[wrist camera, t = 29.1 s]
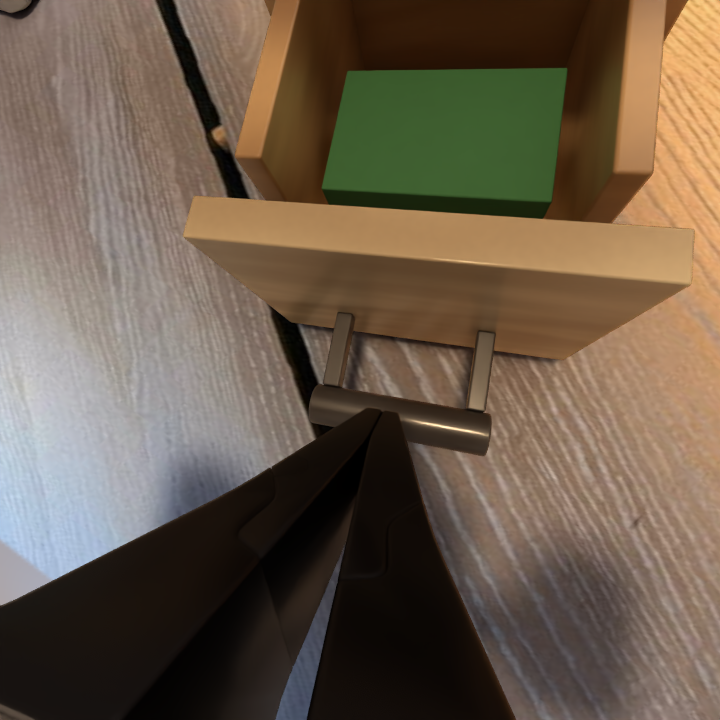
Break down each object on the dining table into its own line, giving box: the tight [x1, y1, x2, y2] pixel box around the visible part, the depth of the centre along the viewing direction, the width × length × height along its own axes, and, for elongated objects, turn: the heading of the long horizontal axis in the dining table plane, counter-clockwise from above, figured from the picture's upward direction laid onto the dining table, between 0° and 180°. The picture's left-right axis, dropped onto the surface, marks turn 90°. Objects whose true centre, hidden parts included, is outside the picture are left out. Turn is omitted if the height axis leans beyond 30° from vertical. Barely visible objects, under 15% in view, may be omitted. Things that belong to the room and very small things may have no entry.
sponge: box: [322, 68, 568, 219], centre depth 14 cm, size 4×7×4 cm, turn 79°
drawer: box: [183, 0, 695, 456], centre depth 13 cm, size 17×11×8 cm
